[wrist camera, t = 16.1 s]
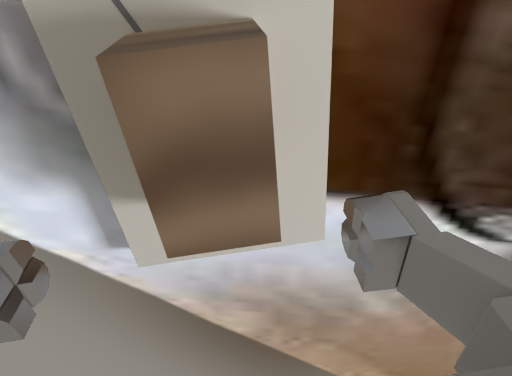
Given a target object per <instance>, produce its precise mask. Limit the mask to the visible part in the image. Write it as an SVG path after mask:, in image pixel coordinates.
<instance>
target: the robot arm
mask: <svg viewBox="0 0 512 376" xmlns="http://www.w3.org/2000/svg"><path fill="white" fill-rule="evenodd" d="M343 211H344V213H345V215H346V217H347V219H346V220H345V221H344V222H343V223H342V231H341V234H342V243H343V246H344V250H345V252H346V254H347V257H348V258H349V259H351V260H352V261H354V262H355V266H354V273H355V275H356V277H357V279H358V281H359V283H360V286H361V288H362V290H363V292H368V291H377V290H386V289H395V288H397V291H399V292H400V293H401V294H402V295H404V296H405V297H406V298H407V299H409V300H410V301H411V302H412V303H414V304H415V305H416V306H417V307H418V308H420V309H421V310H422V311H423V312H425V313H426V314H427V315H428V316H430V317H431V318H432V319H433V320H435V321H436V322H437V323H438V324H440V325H441V326H442V327H443V328H445V329H446V330H447V331H448V332H450V333H451V334H452V335H453V336H455V337H456V338H457V339H458V340H460V341H461V342H462V343H463V344H465V347H464V349H463V351H462V352H461V354H460V356H459V358H458V359H457V361H456V364H455V366H454V368H455V370H456V371H457V373H458V374H453V375H446V376H512V262H510V261H508V260H506V259H504V258H502V257H500V256H498V255H496V254H493V253H491V252H489V251H487V250H485V249H483V248H481V247H479V246H476V245H474V244H472V243H470V242H468V241H466V240H464V239H462V238H460V237H457V236H455V235H453V234H451V233H449V232H440V231H439V230H438V228H437V227H436V226H435V225H434V224H433V222H432V221H431V220H430V219H429V218H428V216H427V215H426V214H425V213H424V212H423V210H422V209H421V208H420V207H419V206H418V204H417V203H416V202H415V201H414V200H413V199H412V197H411V196H410V195H409V194H408V193H407V192H405V191H396V192H389V193H384V194H378V195H371V196H363V197H356V198H348V199H346V201H345V203H344V210H343ZM34 253H35V250H34V248H33V247H32V245H31V244H30V243H29V241H25V240H14V241H5V242H0V343H4V342H10V341H16V340H22V339H24V338H25V336H26V334H27V332H28V330H29V328H30V325H31V324H32V322H33V319H34V318H35V316H36V311H35V308H34V307H35V306H36V305H37V304H38V303H39V302H41V301H42V300H43V299H44V298H45V296H46V294H47V291H48V289H49V283H50V275H49V271H48V268H47V267H46V265H45V264H44V262H42V261H40V260H38V259H36V258H34V257H33V256H34Z"/></svg>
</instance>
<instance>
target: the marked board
mask: <svg viewBox="0 0 512 376" xmlns="http://www.w3.org/2000/svg"><path fill="white" fill-rule="evenodd" d="M22 2H23V5H24V7H25V9H26V11H27V14H28V16H29V18H30V21H31V23H32V25H33V27H34V30H35V32H36V34H37V37H38V39H39V41H40V43H41V46H42V48H43V50H44V53H45V55H46V57H47V59H48V62H49V64H50V66H51V69H52V71H53V73H54V75H55V78H56V80H57V82H58V85H59V87H60V89H61V91H62V94H63V96H64V98H65V101H66V103H67V105H68V107H69V110H70V112H71V114H72V116H73V119H74V121H75V123H76V126H77V128H78V130H79V132H80V135H81V137H82V139H83V142H84V144H85V146H86V148H87V151H88V153H89V155H90V158H91V160H92V162H93V164H94V167H95V169H96V171H97V174H98V176H99V178H100V180H101V183H102V185H103V187H104V190H105V192H106V194H107V196H108V199H109V201H110V203H111V206H112V208H113V210H114V212H115V215H116V217H117V219H118V222H119V224H120V226H121V228H122V231H123V233H124V235H125V237H126V240H127V242H128V244H129V247H130V249H131V251H132V253H133V256H134V258H135V260H136V263H137V265H138V267H142V266H149V265H156V264H163V263H169V262H176V261H183V260H190V259H197V258H203V257H210V256H217V255H224V254H230V253H237V252H244V251H251V250H257V249H264V248H271V247H278V246H284V245H291V244H298V243H305V242H312V241H318V240H324V238H325V213H326V187H327V161H328V136H329V110H330V84H331V59H332V33H333V8H334V0H22ZM252 18H253V20H254V21H255V22H256V23H257V24H258V26H259V27H260V28H261V29H262V30H263V32H264V33H265V34H266V35H267V42H268V56H269V71H270V85H271V100H272V114H273V128H274V143H275V157H276V172H277V186H278V201H279V215H280V229H281V242H275V243H269V244H262V245H255V246H249V247H242V248H235V249H228V250H222V251H215V252H208V253H202V254H195V255H188V256H182V257H175V258H167V255H166V252H165V250H164V247H163V244H162V241H161V239H160V236H159V233H158V230H157V227H156V225H155V222H154V219H153V216H152V213H151V211H150V208H149V205H148V202H147V200H146V197H145V194H144V191H143V188H142V186H141V183H140V180H139V177H138V175H137V172H136V169H135V166H134V163H133V161H132V158H131V155H130V152H129V150H128V147H127V144H126V141H125V138H124V136H123V133H122V130H121V127H120V124H119V122H118V119H117V116H116V113H115V111H114V108H113V105H112V102H111V99H110V97H109V94H108V91H107V88H106V86H105V83H104V80H103V77H102V74H101V72H100V69H99V66H98V63H97V61H96V58H95V57H96V56H98V55H99V54H100V53H102V52H103V51H104V50H106V49H107V48H108V47H110V46H111V45H112V44H114V43H115V42H116V41H118V40H119V39H121V38H122V37H123V36H125V35H126V34H129V33H137V32H145V31H153V30H162V29H170V28H178V27H186V26H194V25H202V24H211V23H219V22H227V21H235V20H243V19H252Z"/></svg>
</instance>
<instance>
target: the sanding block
mask: <svg viewBox="0 0 512 376" xmlns="http://www.w3.org/2000/svg"><path fill="white" fill-rule="evenodd" d="M95 58H96V61H97V63H98V66H99V69H100V72H101V74H102V77H103V80H104V83H105V86H106V88H107V91H108V94H109V97H110V99H111V102H112V105H113V108H114V111H115V113H116V116H117V119H118V122H119V124H120V127H121V130H122V133H123V136H124V138H125V141H126V144H127V147H128V150H129V152H130V155H131V158H132V161H133V163H134V166H135V169H136V172H137V175H138V177H139V180H140V183H141V186H142V188H143V191H144V194H145V197H146V200H147V202H148V205H149V208H150V211H151V213H152V216H153V219H154V222H155V225H156V227H157V230H158V233H159V236H160V239H161V241H162V244H163V247H164V250H165V252H166V255H167V258H175V257H182V256H188V255H195V254H202V253H208V252H215V251H222V250H228V249H235V248H242V247H249V246H255V245H262V244H269V243H275V242H281V229H280V215H279V201H278V186H277V172H276V157H275V143H274V128H273V114H272V100H271V85H270V71H269V56H268V42H267V35H266V34H265V33H264V32H263V30H262V29H261V28H260V27H259V26H258V24H257V23H256V22H255V21H254V20H253V18H252V19H243V20H235V21H227V22H219V23H211V24H202V25H194V26H186V27H178V28H170V29H162V30H153V31H145V32H137V33H129V34H126V35H125V36H123V37H122V38H121V39H119V40H118V41H116V42H115V43H114V44H112V45H111V46H110V47H108V48H107V49H106V50H104V51H103V52H102V53H100V54H99V55H98V56H96V57H95Z"/></svg>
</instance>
